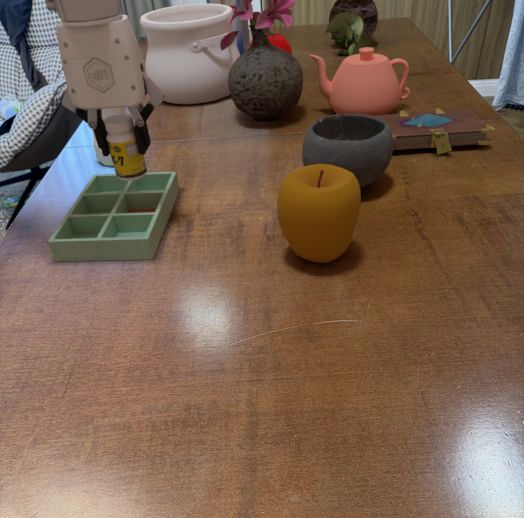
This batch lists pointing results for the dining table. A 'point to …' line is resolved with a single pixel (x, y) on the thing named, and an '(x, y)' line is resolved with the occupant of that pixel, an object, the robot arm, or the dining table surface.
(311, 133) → the bowl
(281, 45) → the tomato
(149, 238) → the tray
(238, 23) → the milk carton
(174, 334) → the dining table surface
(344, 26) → the potted plant
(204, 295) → the dining table surface
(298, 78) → the vase
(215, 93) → the pot
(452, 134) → the book
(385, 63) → the teapot
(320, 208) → the apple
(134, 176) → the supplement bottle
